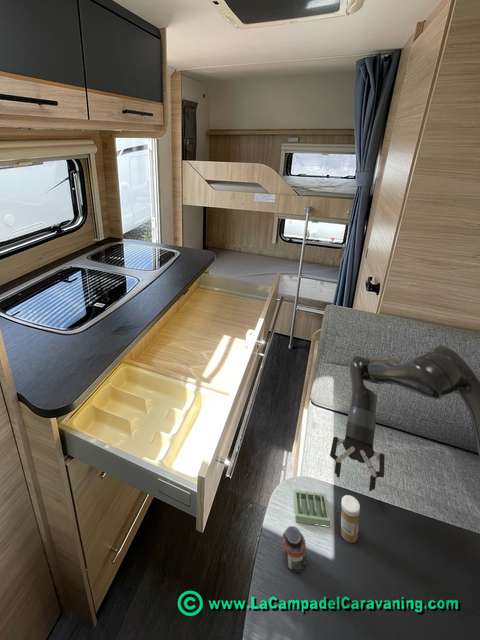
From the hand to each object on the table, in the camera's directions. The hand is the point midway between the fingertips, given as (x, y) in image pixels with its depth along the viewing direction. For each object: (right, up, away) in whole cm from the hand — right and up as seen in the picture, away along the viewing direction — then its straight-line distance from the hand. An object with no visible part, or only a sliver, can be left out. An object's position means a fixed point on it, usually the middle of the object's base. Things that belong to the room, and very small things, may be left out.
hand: (353, 483), depth 94 cm
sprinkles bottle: (-2, -13, -2) cm, 14 cm away
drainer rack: (-11, -12, +5) cm, 17 cm away
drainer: (-11, -12, +5) cm, 17 cm away
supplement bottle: (-19, -17, -5) cm, 26 cm away
